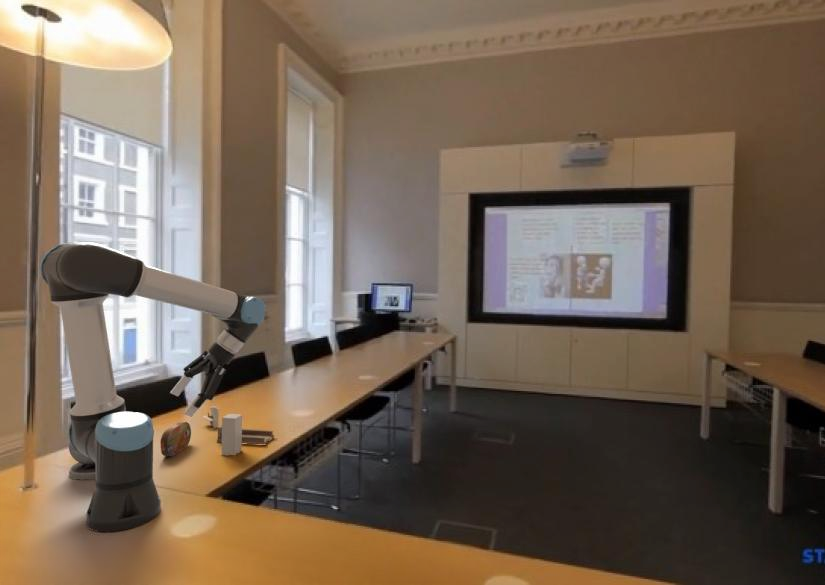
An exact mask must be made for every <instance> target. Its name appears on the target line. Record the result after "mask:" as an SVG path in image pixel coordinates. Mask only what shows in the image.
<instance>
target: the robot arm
mask: <svg viewBox="0 0 825 585" xmlns="http://www.w3.org/2000/svg"><path fill="white" fill-rule="evenodd" d="M39 271H40V272H39V273H40V276H41V278H42V280H43V281H44V283H46V285H47V286H48V290H49V296H50V303H52V304H53V305H55V306H57V307H58V308H59V309H60V316H61V320H62V326H63V333H64V339H65V345H66V351H67V357H68V363H69V369H70V375H71V380H72V388H73V393H74V399H75V400H74V401H75V404H74V405H73V407H72V408H70V410H69V417H70V423H69V425H68V429H67V438H68V442H69V441H70V443H71V445H72V447H73V448H74V449H75V450H76V451H77V452H79V453H80V454H82V455H84V456H86V457H87V458H89V459H90V460H92V461H93V462H95V464H96V479H95V488H94V491H93V495H92V497H91V500H90V503H89V506H88V508H87V511H86V514H85V516H86V517H85V518H86V519H85V524H86V527H87V526H88V527H89V528H91V529H93V530H92V531H94V530H97V531H96V532H99V531H105V532H104V533H107V532H106V531H114V532H119V531H118V530H121V531H125V530H126V531H127V530H130V529H134V528H136V527H139V526H142V525H143V524H146V523H148V522H150V521H151V520H153V519H154V518H156V516H158V515H159V514H160V512H161V508H162V507H161V505H162V504H161V503H162V502H161V497H160V495H159V493H158V490H157V487H156V484H155V481H154V475H153V471H154V436H155V429H154V424H153V420H152V418H151V417H150V416H149V415H148V414H145V413H143V412H134V411H127V408H126V403H125V399H124V398H123V397H122V396H119V395H118V394H117V389H116V383H115V377H114V371H113V370H114V369H113V368H114V367H113V362H112V358H111V357H112V356H111V349H110V344H109V337H108V336H109V335H108V331H107V323H106V317H105V316H106V315H105V311H104V302H105V301H106V300H107V298H108V297H109V295H113V296H114V295H115V296H119V297H122V298H131V297H133V296H137V297H141V298H145V299H149V300H153V301H157V302H162V303H165V304H169V305H174V306H178V307H181V308H185V309H188V310H189V309H190V310H193V311H198V312H201V313H206V314H208V315H210V316H211V317H213V318H215V319H217V320H218V321H220V322H221V323H223V324H225V325H226V327H225V329H224V330H223V331H222V332H221V333H220V334H219V336H218V337H217V338H216V341H214V342H213V343H212V344H211V346H210V347H209V348H208V350H204V351H203V352H202V353H201V355H199V356H198V357H197V358H195V359H194V360H193V361H191V362H190V363H188V364H187V365H185V367H184V368H182V369H183V371H184V372H183V376H182V377H181V378H180V379H179V381H178V382H177V383H176V384H175V385H174V386H173V388H172V389H171V391H169V393H170V394H172V395H174V396H176V397H179V396H180V395H181V393H182V392H183V391H184V390H185V388H186V387H187V386H188V385H189V384H190V382H191V381H192V379H194V377H195V376H197V375H199V374H201V373H203V372H204V375H205V378H204V382H203V384H202V388H201V390H200V393H197V395H195V397H194V398H193V400H192V401H191V403H190V404H189V405H188V406H187V407H186V409H185V410H184V411H183V414H184V415H186V416H188V417H190V418H192V417H193V416H194V415H195V413H197V411H198V410H199V408H201V407H202V405H203V404H204V403H205V402H206V401H213V399H214V396H215V394H216V393H217V390H218V388H219V386H220V384H221V381H222V379H223V377H224V376H225V374H226V373H227V369H226V368H223V366H224V365H229V364H230V363H231V362H232V360H233V359H234V358H235V356H236V355H235V354H237V353H238V352H239V351H240V350H241V349H242V348H243V347H244V345H245V343H247V341H248V340H249V339H250V337H251V336H252V335H253V334H254V333H255V331H256V330H257V329H258V328H259V327H260V326H261V324H262V322H263V321H264V319H265V318H266V313H267V306H266V303H265V302H264V301H263V299H261V298H259V297H257V296H254V295H245V294H241V293H238V292H234V291H231V290H228V289H226V288H222V287H218V286H216V285H212V284H209V283H205V282H202V281H199V280H196V279H192V278H190V277H186V276H183V275H179V274H177V273H173V272H169V271H165V270H163V269H159V268H156V267H154V266H150V265H146V264H145V263H144V261H143V259H142V258H138V257H135V256H132V255H129V254H127V253H123V252H121V251H120V250H119V251H118V250H117V249H113V248H111V247H108V246H106V245H102V244H100V243H95V242H65V243H62V244H59V245H56V246H54V247H53V248H50V249H49V250H48V251H47V252H46V253H44V255H43V256H42V258H41V261H40V264H39ZM88 527H87V528H88ZM89 528H88V529H89ZM91 529H90V530H91Z"/></svg>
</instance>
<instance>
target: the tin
mask: <svg viewBox="0 0 825 585" xmlns="http://www.w3.org/2000/svg"><path fill="white" fill-rule="evenodd" d="M191 437H192V429H191V424H189V423H188V422H187V421H184V422H178V423H175V424H173V425H172V426H171V427H170V428H168V429H166V430H164V431H163V433H162V435H161V438H160V452H161V455H162V456H164V457H175V456H176V455H178V454H179V453H181V450H182V451H183V450H184V449H185V447H186V448H187V447H188V446H189V443H190V441H191ZM177 453H178V454H177Z"/></svg>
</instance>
